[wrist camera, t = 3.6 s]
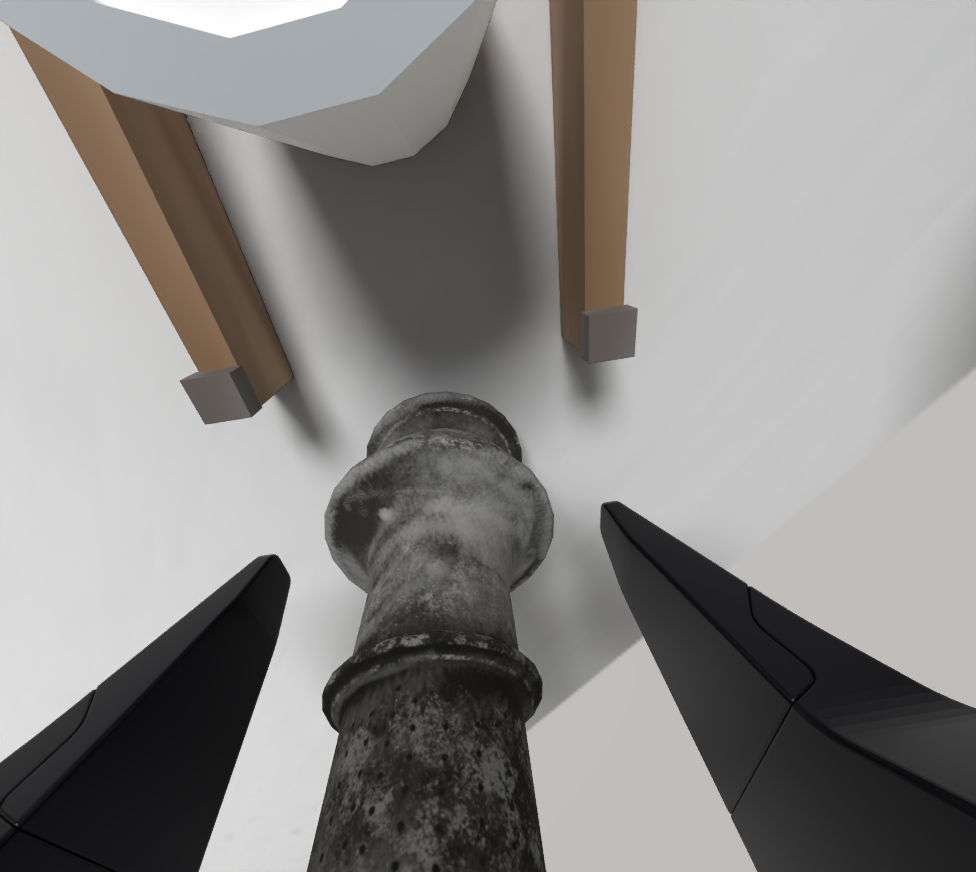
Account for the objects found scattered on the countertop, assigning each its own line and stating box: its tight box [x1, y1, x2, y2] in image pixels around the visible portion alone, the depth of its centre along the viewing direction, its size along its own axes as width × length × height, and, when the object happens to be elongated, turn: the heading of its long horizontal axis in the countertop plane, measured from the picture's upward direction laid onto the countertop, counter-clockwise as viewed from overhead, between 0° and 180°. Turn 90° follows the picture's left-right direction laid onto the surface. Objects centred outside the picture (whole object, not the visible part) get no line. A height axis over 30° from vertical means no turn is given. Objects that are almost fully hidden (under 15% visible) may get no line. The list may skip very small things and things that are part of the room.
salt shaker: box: [307, 392, 554, 872], centre depth 7 cm, size 6×6×12 cm
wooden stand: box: [10, 0, 637, 424], centre depth 7 cm, size 11×15×3 cm
